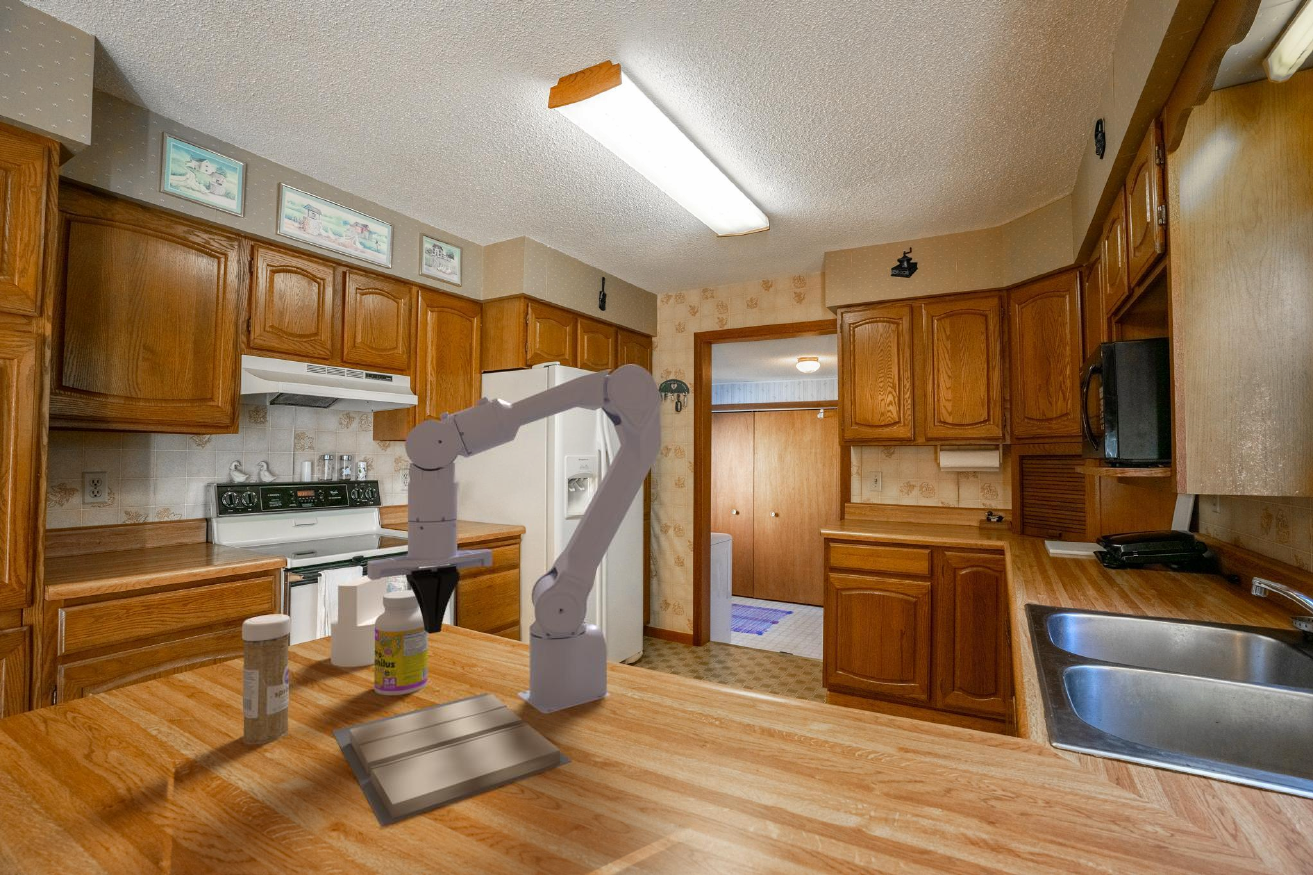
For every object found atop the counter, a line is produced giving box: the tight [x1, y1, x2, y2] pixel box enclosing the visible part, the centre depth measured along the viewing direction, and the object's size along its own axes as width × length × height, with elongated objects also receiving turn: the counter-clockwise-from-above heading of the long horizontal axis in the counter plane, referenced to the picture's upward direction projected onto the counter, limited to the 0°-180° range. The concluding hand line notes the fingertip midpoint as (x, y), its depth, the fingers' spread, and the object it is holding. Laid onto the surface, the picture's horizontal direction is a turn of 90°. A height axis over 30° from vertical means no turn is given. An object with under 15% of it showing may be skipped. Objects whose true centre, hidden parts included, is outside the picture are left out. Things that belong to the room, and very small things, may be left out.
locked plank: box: [371, 722, 561, 818], centre depth 61 cm, size 16×8×1 cm, turn 127°
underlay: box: [331, 692, 572, 827], centre depth 67 cm, size 18×22×1 cm
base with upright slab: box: [330, 575, 388, 668], centre depth 98 cm, size 9×9×12 cm
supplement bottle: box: [373, 589, 429, 696], centre depth 84 cm, size 7×7×13 cm
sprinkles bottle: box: [241, 613, 291, 745], centre depth 70 cm, size 5×5×14 cm
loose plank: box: [350, 693, 523, 775], centre depth 69 cm, size 16×8×1 cm, turn 127°
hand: (432, 631), depth 77 cm, fingers closed
